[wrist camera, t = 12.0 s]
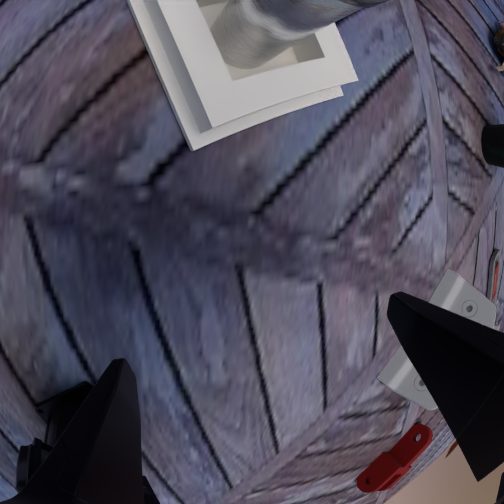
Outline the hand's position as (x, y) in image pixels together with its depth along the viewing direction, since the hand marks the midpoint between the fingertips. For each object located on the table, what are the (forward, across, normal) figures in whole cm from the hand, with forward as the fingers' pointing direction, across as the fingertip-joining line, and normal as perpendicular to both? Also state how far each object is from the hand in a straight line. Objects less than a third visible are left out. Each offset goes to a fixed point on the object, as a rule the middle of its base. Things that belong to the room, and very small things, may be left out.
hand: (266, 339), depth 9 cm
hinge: (+14, -23, +21) cm, 34 cm away
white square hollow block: (+15, -3, -11) cm, 19 cm away
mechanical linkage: (+9, -22, +49) cm, 54 cm away
